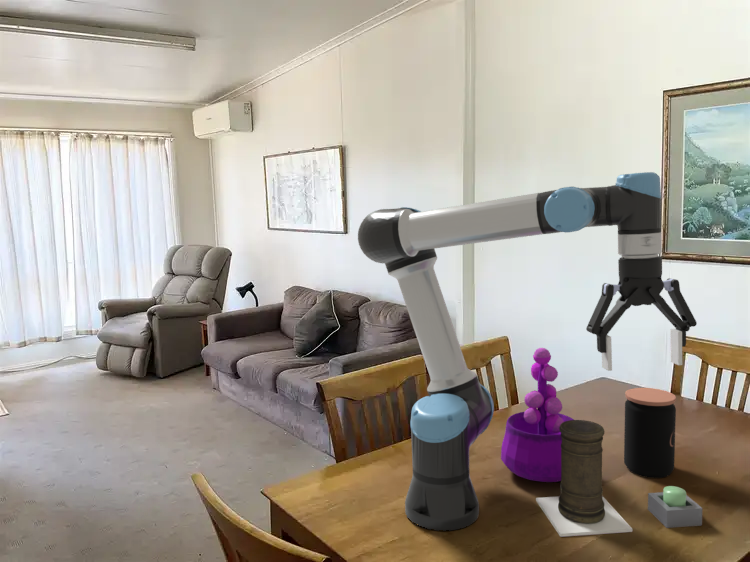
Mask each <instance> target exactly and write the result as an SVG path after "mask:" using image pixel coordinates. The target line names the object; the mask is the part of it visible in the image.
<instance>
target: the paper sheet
mask: <svg viewBox="0 0 750 562" xmlns="http://www.w3.org/2000/svg"><path fill="white" fill-rule="evenodd" d="M559 496H560V495H559ZM559 496H547V497H545V496H542V497H536V498H535V502H536V504H537V505H538V506H539V507H540V508H541V511H542V512H543V513H544V515H545V516H546V518H547V519H548V521H549V522H550V523H551V525H552V526H553V528H554V530H555V531H556V532H557V534H558V536H559V537H574V536H575V537H576V536H577V537H578V536H592V535H603V534H619V533H632V532H633V527H631V525H629V523H628V522H627V521H626V520H625V518H623V517H622V516H621V515H620V513H619V512H618V511H617V510H616V509H615V507H613V506H612V505H611V503H609V502H608V500H607V499H606V498H605V497H604V495H602V500H603V502H604V509H605V516H604V518H603V520H602V521H600V522H598V523H594V524H584V523H578V522H574V521H571V520H569V519H567V518H565V517H564V516H562V515H561V514H560V512H559V509H558V504H559Z"/></svg>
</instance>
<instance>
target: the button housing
mask: <svg viewBox="0 0 750 562" xmlns="http://www.w3.org/2000/svg"><path fill="white" fill-rule="evenodd" d="M647 511H649V512H650V513H651V514H652V515H653V516H654V517H655V518H656V519H657V520H658V521H659V522H660V523H661V524H662V525H663V526H664V527H665V528H666V529H669V528H670V529H671V528H682V527H683V528H684V527H685V528H686V527H698V526H699V527H700V526H702V525H703V507H702V506H700V505H699V503H697V502H696V501H695V500H693V499H692V498H691V497H690V496H689V495H687V494H686V506H678V507H669V506H668V505H667V504H666V503H665V502H664V501H663V491H661V492H648V493H647Z"/></svg>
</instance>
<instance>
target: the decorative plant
mask: <svg viewBox="0 0 750 562" xmlns="http://www.w3.org/2000/svg"><path fill="white" fill-rule="evenodd" d="M532 357H533V360H534V361H535V362H534V363H533V364H532V365H531V367H530V372H531V373H530V374H531V376H532V379H534V380H535V381H536V382H537V390H532V391H530V392H527V393H526V394H525V396H524V401H523V402H524V403H525V405H526V406H527V407H528V408H527V409H526V410H525V411H521V412H517V413H515V414H512V415H510V416H509V417H507V421H506V424H505V431H504V436H503V439H502V443H501V452H500V460H501V461H502V463H503V464H504V465H505V467H507V469H508V470H509V471H510V473H513V474H515V475H516V476H517V477H521V478H523V479H527V480H530V481H536V482H542V483H543V482H544V483H545V482H546V483H553V482H554V483H556V482H561V443H562V438H561V432H560V430H559V427H560V425H561V423H563V422H565V421H569V420H575V419H574V418H573V417H570V416H568V415H565V414H563V413H560V412H562V410H563V403H562V402H561V400H560V399H559V398H558V397H557V389H556V387H555V386H554V385H553V384H551V383H552V382H554V381H556V379H557V378H558V376H559V372H558V370H557V368H555V367H554V366H552V365H550V364H549V363H550V361H551V360H552V355H551V352H550V350H548V349H547V348H545V347H539V348H537V349H535V351H534V353H533V355H532ZM548 382H551V383H548Z"/></svg>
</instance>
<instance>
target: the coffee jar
mask: <svg viewBox="0 0 750 562" xmlns="http://www.w3.org/2000/svg"><path fill="white" fill-rule="evenodd" d="M624 392H625V394H624V395H625V399H626V400H625V403H624V434H623V435H624V439H623V440H624V442H623V443H624V445H623V447H624V448H623V462H624V463H623V464H624V465H625V466H626V468H627V470H628V471H629V472H631V473H633V474H634V475H637V476H640V477H644V478H650V479H662V478H666V477H669V476H670V475H671V474H672V472H673V471H674V470H675V457H676V456H675V454H676V449H675V448H676V447H675V446H676V422H677V421H676V419H677V418H676V415H677V412H676V411H677V409H676V405H675V403H676V401H677V397H676V395H675V394H674V393H672V392H669V391H668V390H664V389H659V388H653V387H652V388H650V387H635V388H630V389H627V390H626V391H624Z"/></svg>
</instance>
